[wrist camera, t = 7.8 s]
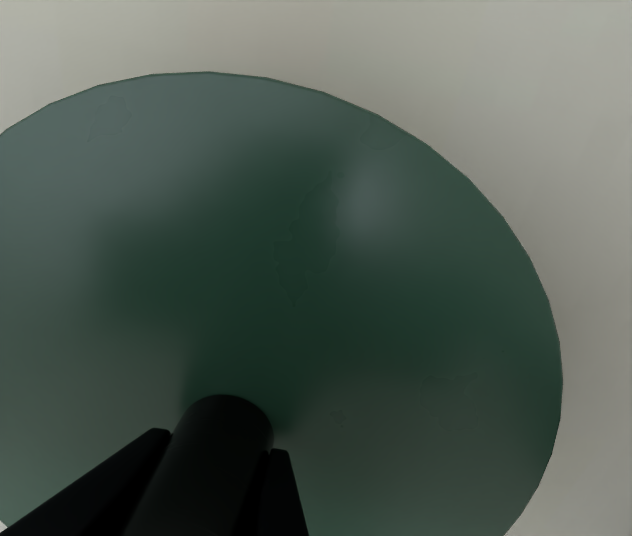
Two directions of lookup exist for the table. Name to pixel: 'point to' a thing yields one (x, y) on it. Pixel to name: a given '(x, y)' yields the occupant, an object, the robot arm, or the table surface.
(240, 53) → the table surface
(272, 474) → the robot arm
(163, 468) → the lid
